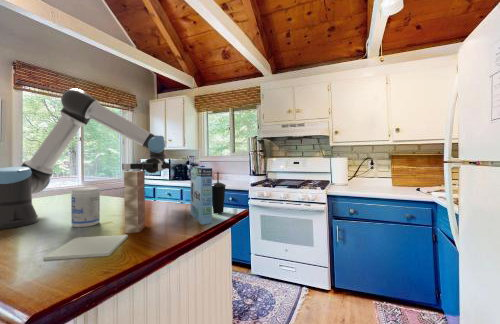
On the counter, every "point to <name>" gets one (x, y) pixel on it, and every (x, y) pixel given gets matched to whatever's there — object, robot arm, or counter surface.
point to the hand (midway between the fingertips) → (141, 167)
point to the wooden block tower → (134, 201)
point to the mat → (87, 247)
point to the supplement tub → (85, 207)
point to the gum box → (201, 194)
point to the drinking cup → (218, 196)
